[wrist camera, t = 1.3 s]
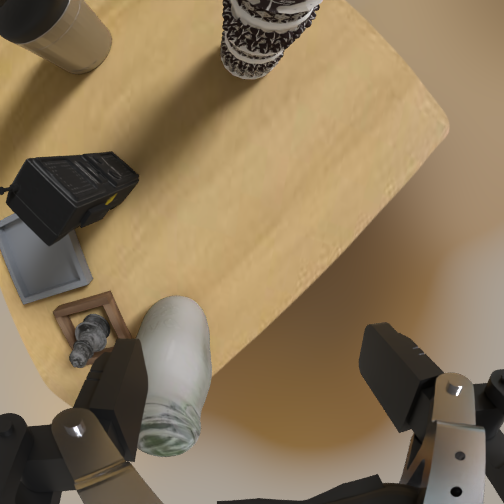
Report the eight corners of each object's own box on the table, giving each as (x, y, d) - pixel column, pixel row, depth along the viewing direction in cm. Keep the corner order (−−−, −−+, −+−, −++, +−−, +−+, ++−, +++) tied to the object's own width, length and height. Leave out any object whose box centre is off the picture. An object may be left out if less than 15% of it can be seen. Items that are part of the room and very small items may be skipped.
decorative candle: (291, 64, 42) (362, -7, 18) (239, 93, 42) (269, 28, 19) (258, 20, 39) (298, -76, 15) (206, 47, 40) (204, -47, 16)
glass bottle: (176, 348, 53) (160, 483, 26) (137, 305, 50) (86, 432, 23) (221, 320, 52) (234, 455, 26) (183, 273, 49) (159, 395, 22)
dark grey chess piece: (104, 346, 51) (85, 388, 40) (77, 329, 50) (52, 368, 38) (117, 324, 50) (97, 364, 39) (88, 306, 49) (62, 342, 37)
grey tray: (0, 221, 42) (-8, 224, 40) (62, 191, 43) (55, 193, 41) (29, 298, 47) (23, 304, 44) (93, 278, 47) (88, 284, 45)
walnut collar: (58, 305, 48) (52, 312, 46) (110, 290, 48) (106, 296, 46) (85, 358, 51) (81, 366, 49) (136, 347, 52) (134, 355, 50)
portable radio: (147, 181, 44) (83, 207, 21) (123, 212, 45) (45, 265, 21) (110, 148, 42) (19, 145, 18) (87, 179, 43) (-13, 205, 19)
